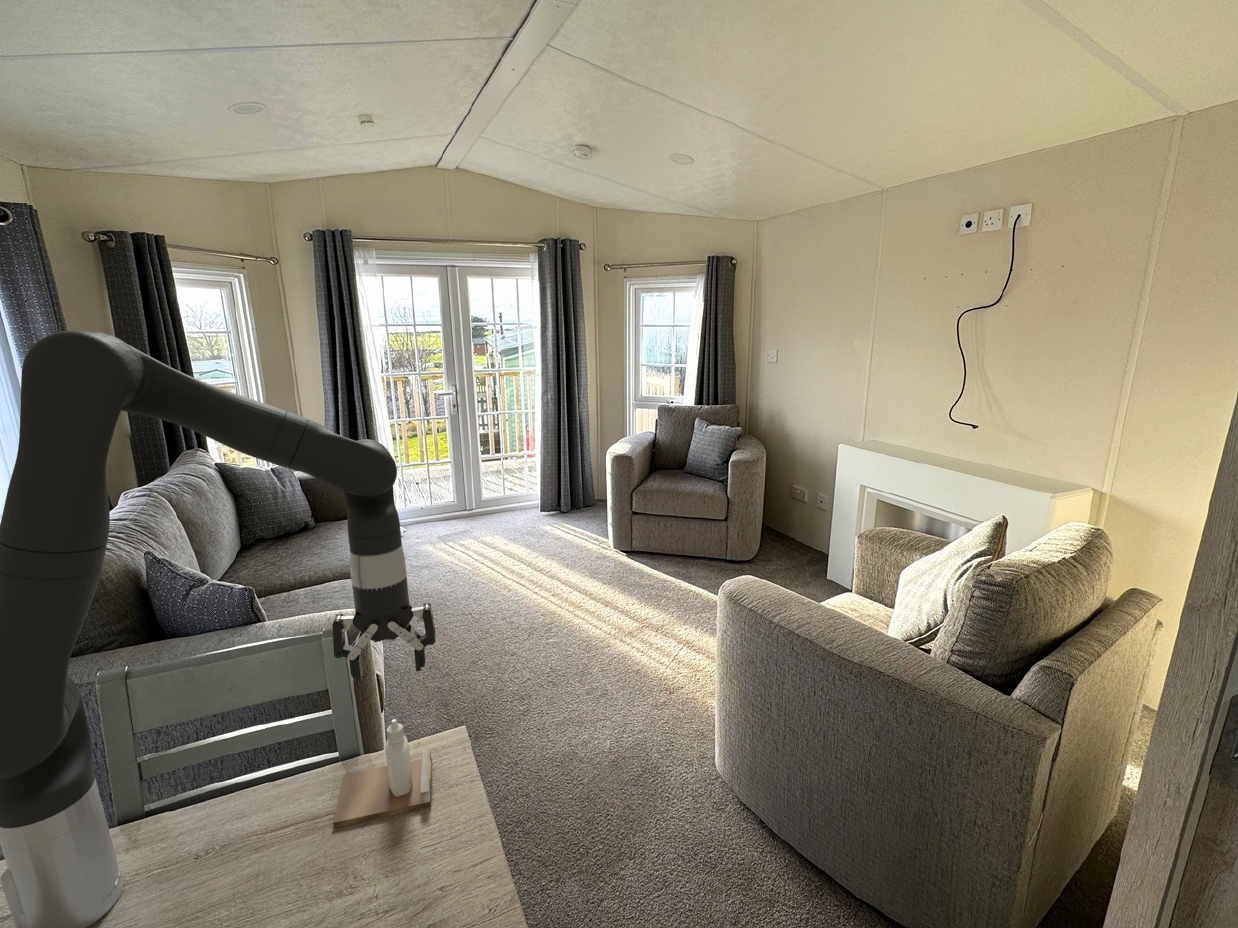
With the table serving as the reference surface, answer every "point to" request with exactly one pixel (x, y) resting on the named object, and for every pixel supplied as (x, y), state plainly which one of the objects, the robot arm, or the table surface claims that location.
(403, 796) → the walnut shelf board
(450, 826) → the table surface
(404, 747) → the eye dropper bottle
